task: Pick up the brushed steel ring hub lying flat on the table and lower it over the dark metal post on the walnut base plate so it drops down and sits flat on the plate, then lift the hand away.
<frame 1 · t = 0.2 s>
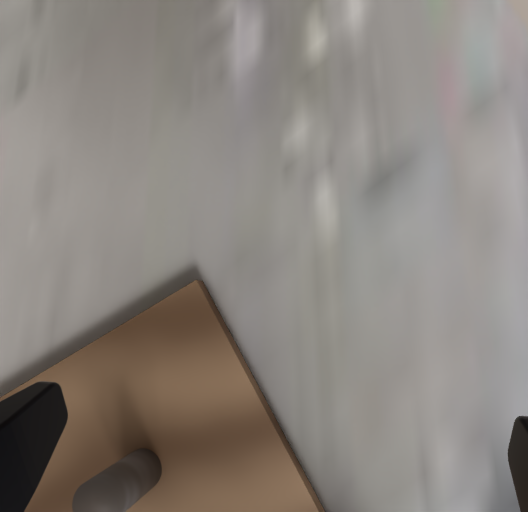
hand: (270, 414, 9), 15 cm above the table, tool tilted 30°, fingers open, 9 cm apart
post base: (151, 462, 24), on the table
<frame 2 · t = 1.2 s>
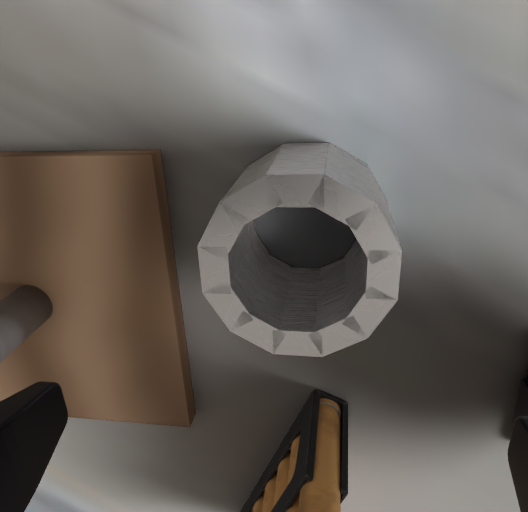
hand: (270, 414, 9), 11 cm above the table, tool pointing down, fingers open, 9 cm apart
post base: (45, 293, 23), on the table
ammunition clip: (290, 459, 25), on the table
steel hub: (306, 220, 19), on the table
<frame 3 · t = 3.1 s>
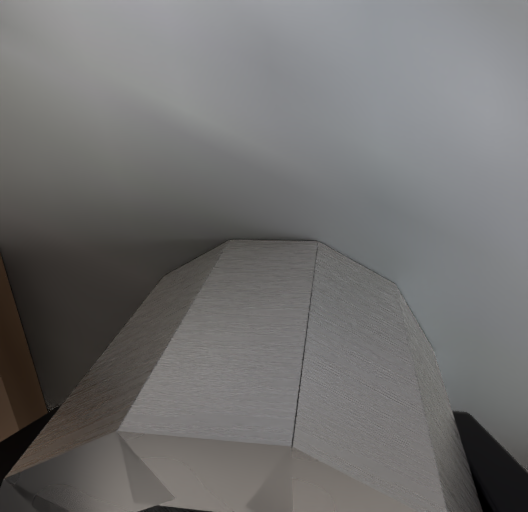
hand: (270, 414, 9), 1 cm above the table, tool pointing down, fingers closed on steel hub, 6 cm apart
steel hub: (278, 374, 10), on the table, touching gripper
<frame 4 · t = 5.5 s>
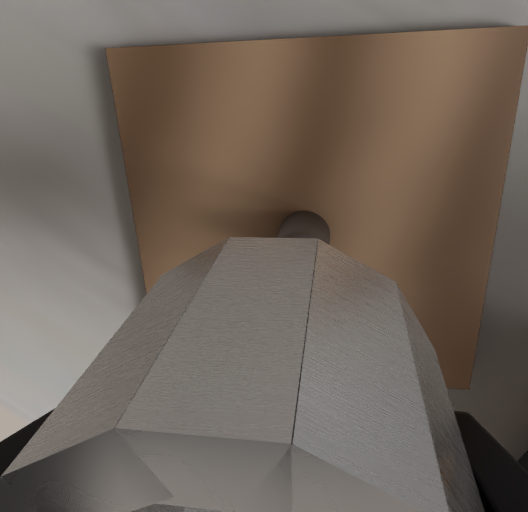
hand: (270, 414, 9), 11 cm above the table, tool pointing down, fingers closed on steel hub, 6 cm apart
post base: (306, 226, 19), on the table
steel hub: (278, 373, 10), point 10 cm above the table, touching gripper
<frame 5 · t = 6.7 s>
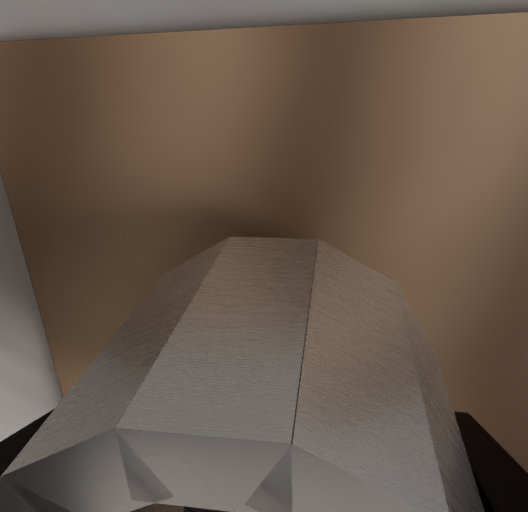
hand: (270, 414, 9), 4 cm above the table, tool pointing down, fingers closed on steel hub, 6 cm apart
post base: (288, 306, 13), on the table
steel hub: (278, 373, 10), point 3 cm above the table, touching gripper
when the fingers open (4 cm above the table, at t = 7.9 s): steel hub drops 2 cm, resting on post base.
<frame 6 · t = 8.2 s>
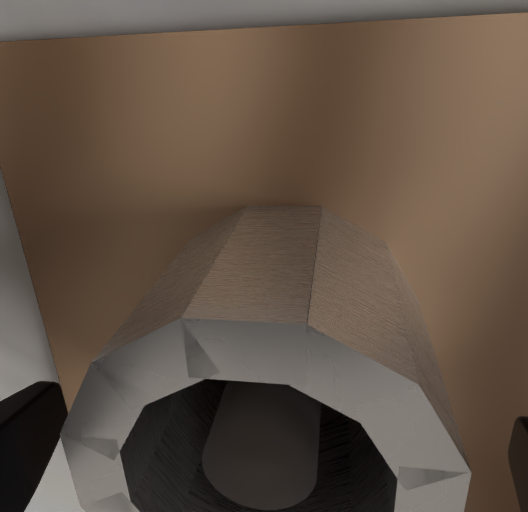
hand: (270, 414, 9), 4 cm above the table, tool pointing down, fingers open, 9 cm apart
post base: (290, 307, 13), on the table
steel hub: (287, 324, 12), point 1 cm above the table, touching post base
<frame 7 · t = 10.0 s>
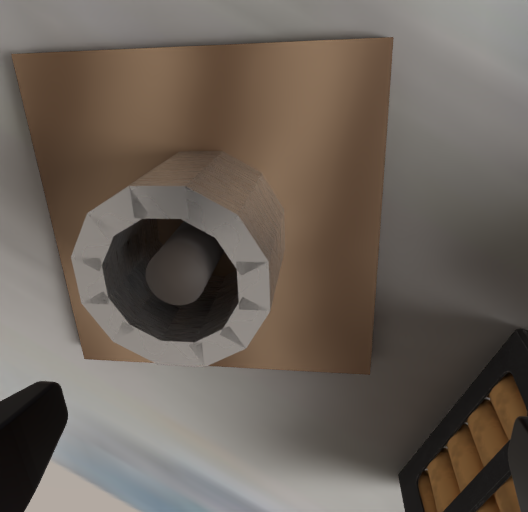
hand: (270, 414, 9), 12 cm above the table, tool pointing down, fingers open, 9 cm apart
post base: (213, 221, 20), on the table
ammunition clip: (467, 412, 23), on the table
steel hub: (208, 228, 19), point 1 cm above the table, touching post base
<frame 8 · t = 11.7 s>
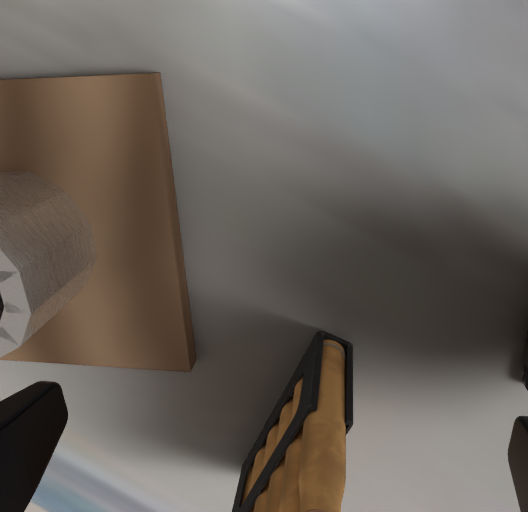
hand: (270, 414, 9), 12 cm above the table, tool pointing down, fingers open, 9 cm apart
post base: (42, 233, 22), on the table
ammunition clip: (293, 408, 25), on the table
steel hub: (30, 239, 21), point 1 cm above the table, touching post base
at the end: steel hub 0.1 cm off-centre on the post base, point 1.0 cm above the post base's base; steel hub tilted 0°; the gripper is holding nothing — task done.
